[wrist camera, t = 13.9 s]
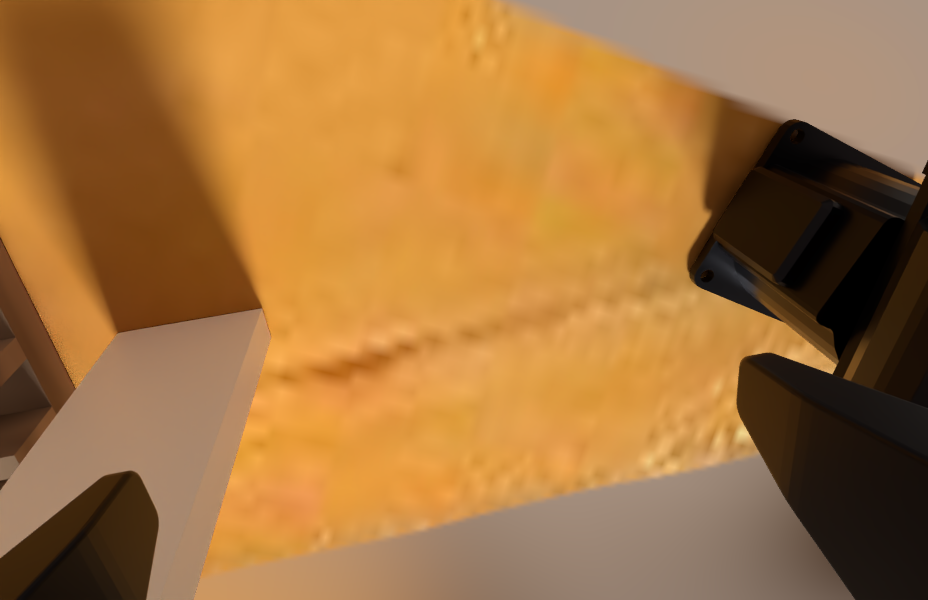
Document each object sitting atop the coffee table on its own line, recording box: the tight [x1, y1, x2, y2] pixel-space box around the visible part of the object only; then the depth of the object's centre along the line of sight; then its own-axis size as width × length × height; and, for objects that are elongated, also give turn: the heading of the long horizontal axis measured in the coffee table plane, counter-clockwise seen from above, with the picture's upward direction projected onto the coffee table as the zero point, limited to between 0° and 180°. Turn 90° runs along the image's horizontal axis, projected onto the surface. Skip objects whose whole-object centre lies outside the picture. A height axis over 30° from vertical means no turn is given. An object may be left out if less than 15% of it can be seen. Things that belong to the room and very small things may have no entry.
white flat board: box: [0, 308, 271, 600], centre depth 17 cm, size 5×1×12 cm, turn 98°
